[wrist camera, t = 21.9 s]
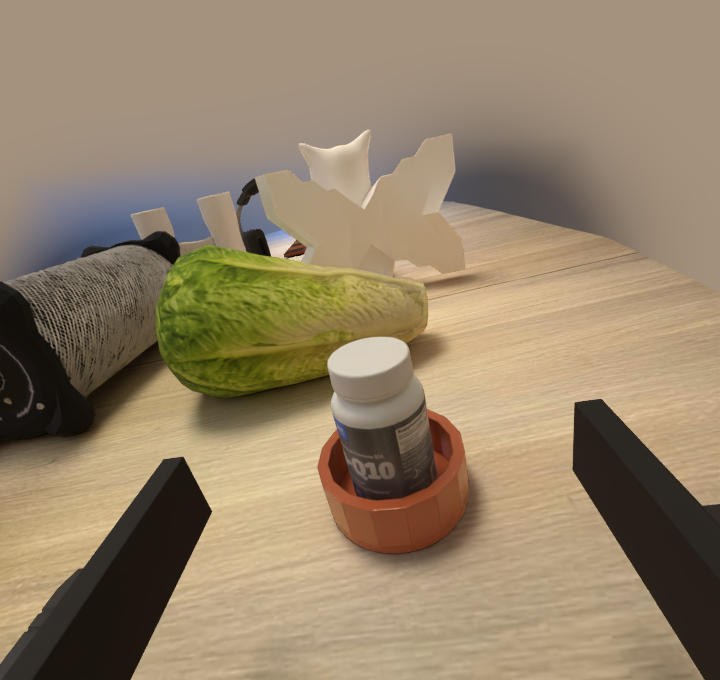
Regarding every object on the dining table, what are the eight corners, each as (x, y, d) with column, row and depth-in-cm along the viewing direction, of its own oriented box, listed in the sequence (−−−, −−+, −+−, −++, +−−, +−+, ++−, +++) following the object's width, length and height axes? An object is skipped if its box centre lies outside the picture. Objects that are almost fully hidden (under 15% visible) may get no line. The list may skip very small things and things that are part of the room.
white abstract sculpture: (403, 260, 70) (382, 133, 61) (480, 278, 51) (465, 100, 43) (274, 302, 63) (230, 165, 54) (310, 341, 44) (250, 142, 35)
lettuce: (414, 338, 45) (443, 417, 33) (211, 350, 45) (161, 435, 32) (418, 218, 39) (457, 259, 26) (179, 230, 38) (99, 279, 25)
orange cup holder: (482, 454, 22) (478, 413, 21) (446, 577, 16) (437, 530, 15) (367, 435, 26) (358, 399, 25) (305, 528, 20) (289, 488, 19)
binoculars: (266, 290, 71) (233, 190, 64) (258, 299, 66) (222, 192, 59) (182, 307, 73) (141, 212, 66) (169, 317, 68) (123, 216, 61)
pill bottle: (338, 495, 21) (298, 368, 18) (388, 444, 24) (362, 327, 21) (406, 535, 18) (373, 390, 15) (454, 471, 21) (435, 338, 18)
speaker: (-50, 461, 36) (-173, 318, 30) (132, 337, 62) (85, 247, 55) (87, 441, 34) (-16, 283, 28) (216, 321, 59) (177, 225, 53)
